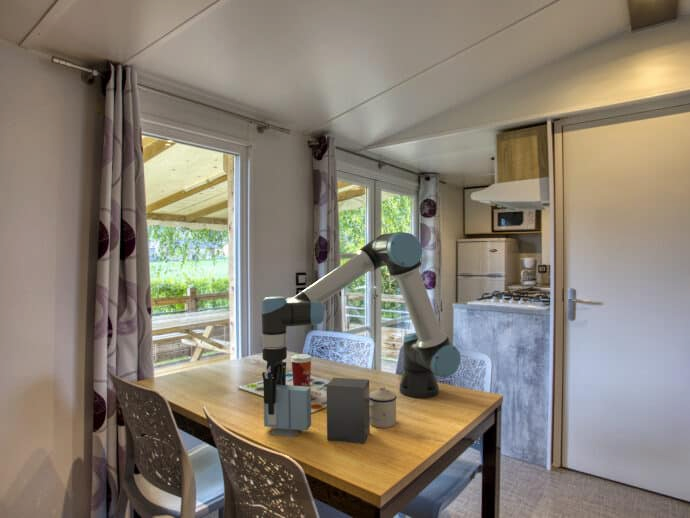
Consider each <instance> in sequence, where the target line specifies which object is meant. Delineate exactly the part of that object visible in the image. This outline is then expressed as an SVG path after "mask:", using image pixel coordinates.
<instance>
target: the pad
mask: <svg viewBox="0 0 690 518" xmlns="http://www.w3.org/2000/svg"><path fill="white" fill-rule="evenodd" d="M301 431H302V430H296V429H285V428H275V427H274V429H273V430H272V431H271V432H270V436H271V435H272V436H281V437H291V438H292V437H293V438H296V437H297V435H298V434H299V433H301Z"/></svg>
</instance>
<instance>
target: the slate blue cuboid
mask: <svg viewBox="0 0 690 518" xmlns="http://www.w3.org/2000/svg"><path fill="white" fill-rule="evenodd" d="M311 389H312V387H311V386H310V387H305V386H293V385H292V384H291V385H288V384H287V385H277V386H276V401H275V403H277V425H272V424H268V404H265V403H264V402H263V426H264V427H266V428H274V429H275V428H285V429H296V430H301V431H306V432H307V431H308V430H309V429H310V427H311V426H312V398H311V397H312V392H311V391H312V390H311Z"/></svg>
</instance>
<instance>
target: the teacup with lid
mask: <svg viewBox="0 0 690 518" xmlns="http://www.w3.org/2000/svg"><path fill="white" fill-rule="evenodd" d="M369 411H370V425H371V426H372V427H376V428H381V429H383V428H384V429H386V428H391V427H394V426H395V425H396V424H397V394H396V393H395V392H393V391H391V390H388V389H387V388H386V387H385V386H384V385H380V386H379V388H378V389H376V390H372V391H370V392H369Z"/></svg>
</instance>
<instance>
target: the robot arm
mask: <svg viewBox="0 0 690 518" xmlns="http://www.w3.org/2000/svg"><path fill="white" fill-rule="evenodd" d="M422 254H423V249H422V244H421V242H420V240H419V238H417V237H416V236H415V235H414V234H411V233H410V232H403V231H397V232H391V233H383V234H381V235H378V236H376V237H375V238H374V239H372V240H371V241H369V242H368V243H366V244H365V245H363V246H362V247H361V248H359V249H358V250H357V251H356V254H355V255H354V256H353V257H351V258H350V259H348V260H346V261H345V262H344V263H342V264H340V265H339V266H337V267H336V268H335V269H334V270H333V269H332V270H331V272H328V273H327V274H326V275H324V276H323V277H321V278H319V279H318V280H317V281H315V282H314V283H312V284H311V285H309V286H308V287H306V288H305V289H303V290H302V291H300V292H299V293H298V294H296V295H294V296H289V297H287V298H286V297H285V296H279V295H278V296H266V297H263V299H262V301H261V337H260V338H261V340H262V346H263V347H262V349H261V350H262V352H261V353H262V355H261V356H262V360H263V361H265V362H266V369H265V370H266V371H263V372H262V375H261V376H262V382H263V383H262V384H263V404H264V403H265V404H268V424H272V425H277V403H275V401H276V386H277V385H286V384H287V381H286V380H287V374H286V373H287V362H286V361H284V360H286V359H287V357H288V355H287V354H288V350H287V349H288V348H287V344H288V336H287V335H288V334H287V329H288V327H298V326H300V327H301V326H315V325H320V324H322V323H323V321H324V319H325V310H324V309H325V308H324V304H323V303H324V302H326V301H327V300H330V299H331V298H332V297H333V296H335V295H336V294H337V293H339V292H341V291H342V290H343V289H345V288H346V287H348V286H349V285H351V284H352V283H353V282H355V281H357V280H358V279H360V278H361V277H363V276H364V275H365V274H367V273H368V272H369V273H370V272H371V273H373V272H374V271H376V270H377V269H380V268H383V267H385V266H386V268H387V270H388V273H389V276H391V277H392V278H394V279H395V280H396V282H397V285H398V287H399V290H400V293H401V296H402V298H403V301H404V304H405V306H406V308H407V311H408V313H409V316H410V320H411V322H412V325H413V327H414V328H413V329H414V331H415V332H410V333H406V334H405V335H404V336H403V342H402V344H403V374H402V376H401V380H400V383H399V393H400V394H401V395H403V396H407V397H409V398H410V397H411V398H416V399H417V398H418V399H425V398H433V397H436V396H437V395H439V391H440V390H439V389H440V388H439V387H440V386H439V384H438V380H437V378H436V376H437V377H441V378H448V377H451V376H452V375H454V374H455V373H456V372H457V370H458V369H459V366H460V365H461V360H462V359H461V352H460V350H459V349H458V348H457V347H456V346H455V345H453V344H452V343H451V341H450V339H449V337H448V336H449V335H448V334H447V333H446V332H445V331H442V329H441V326H440V324H439V321H438V319H437V316H436V312H435V310H434V307H433V304H432V301H431V299H430V296H429V293H428V291H427V289H426V285H425V282H424V280H423V277H422V274H421V271H420V270H421V267H422V265H423V264H422V261H421V258H422Z"/></svg>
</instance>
